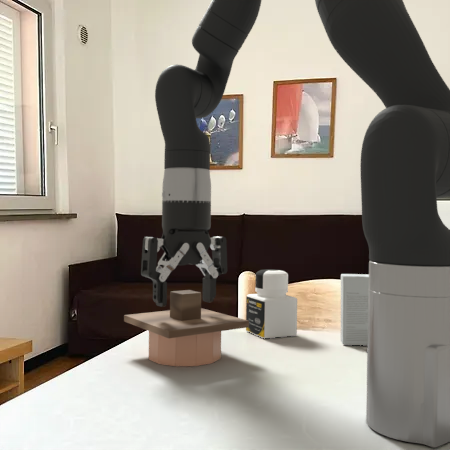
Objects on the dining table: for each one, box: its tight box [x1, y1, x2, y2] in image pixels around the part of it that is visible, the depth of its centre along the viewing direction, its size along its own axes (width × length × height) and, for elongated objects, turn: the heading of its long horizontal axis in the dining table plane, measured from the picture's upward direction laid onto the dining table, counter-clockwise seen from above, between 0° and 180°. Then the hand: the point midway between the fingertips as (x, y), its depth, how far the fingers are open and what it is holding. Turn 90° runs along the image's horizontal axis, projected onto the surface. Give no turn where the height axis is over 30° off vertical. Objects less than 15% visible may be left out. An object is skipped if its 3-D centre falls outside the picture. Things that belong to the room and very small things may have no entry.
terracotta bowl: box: [148, 331, 222, 367], centre depth 83 cm, size 11×11×5 cm
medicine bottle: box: [245, 268, 298, 340], centre depth 100 cm, size 7×7×12 cm
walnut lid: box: [123, 289, 249, 338], centre depth 83 cm, size 14×14×5 cm
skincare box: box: [340, 273, 369, 347], centre depth 93 cm, size 6×4×12 cm
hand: (185, 303), depth 83 cm, fingers open, 8 cm apart
